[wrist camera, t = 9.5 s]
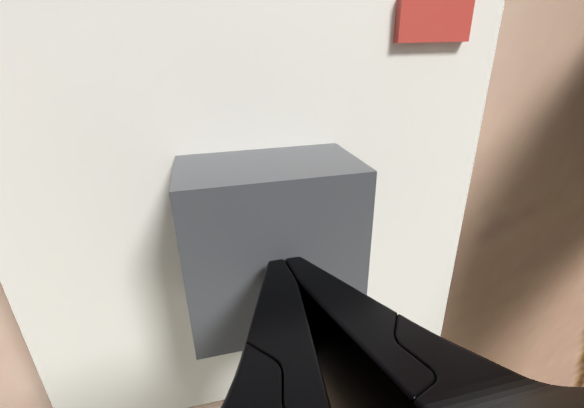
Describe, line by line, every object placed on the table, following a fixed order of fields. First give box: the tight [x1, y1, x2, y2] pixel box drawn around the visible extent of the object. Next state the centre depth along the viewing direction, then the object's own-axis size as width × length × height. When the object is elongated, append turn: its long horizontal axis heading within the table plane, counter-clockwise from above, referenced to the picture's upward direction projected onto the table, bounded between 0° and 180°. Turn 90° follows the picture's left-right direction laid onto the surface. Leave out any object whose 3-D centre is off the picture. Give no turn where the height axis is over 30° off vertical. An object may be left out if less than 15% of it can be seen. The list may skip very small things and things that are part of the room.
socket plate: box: [0, 0, 505, 408], centre depth 13 cm, size 16×16×3 cm
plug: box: [169, 143, 377, 360], centre depth 12 cm, size 5×5×6 cm
